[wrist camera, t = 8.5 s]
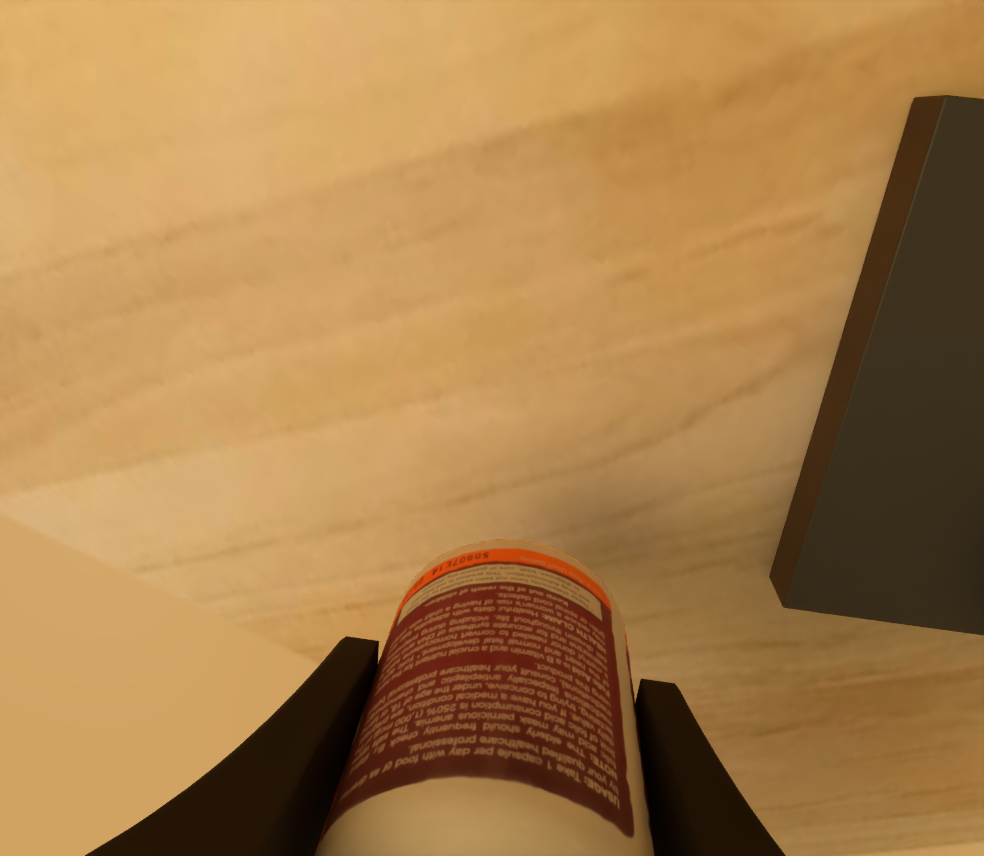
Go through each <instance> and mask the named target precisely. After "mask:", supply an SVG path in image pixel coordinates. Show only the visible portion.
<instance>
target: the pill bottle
mask: <svg viewBox="0 0 984 856" xmlns="http://www.w3.org/2000/svg"><path fill="white" fill-rule="evenodd" d="M314 856H655V852H654V848H653V842H652V834H651V826H650V811H649V805H648V799H647V789H646V785H645V773H644V767H643V761H642V754H641V744H640V736H639V727H638V719H637V714H636V708H635V699H634V692H633V684H632V678H631V669H630V659H629V651H628V646H627V637H626V631H625V626H624V622H623V619H622V616H621V612H620V610H619V608H618V606H617V604H616V602H615V600H614V598H613V596H612V594H611V592H610V591H609V590H608V588H607V587H606V585H605V584H604V582H603V581H602V580H601V579H600V578H599V577H598V576H597V575H596V574H595V573H594V572H592V571H591V570H590V569H589V568H588V567H586V566H585V565H583V564H582V563H580V562H579V561H577V560H576V559H575V558H573V557H571V556H569V555H567V554H565V553H563V552H561V551H559V550H556V549H553V548H551V547H548V546H545V545H541V544H538V543H534V542H530V541H524V540H507V539H497V540H491V541H482V542H479V543H474V544H469V545H465V546H462V547H459V548H456V549H454V550H452V551H449V552H447V553H445V554H442V555H440V556H439V557H438V558H436V559H435V560H433V561H432V562H431V563H429V564H428V565H427V566H426V567H425V568H424V569H422V570H421V571H420V572H419V573H418V574H417V575H416V576H415V578H414V579H413V580H412V582H411V583H410V584H409V586H408V588H407V589H406V591H405V593H404V595H403V597H402V600H401V602H400V604H399V607H398V610H397V612H396V616H395V619H394V621H393V624H392V627H391V630H390V632H389V636H388V639H387V641H386V645H385V647H384V650H383V652H382V656H381V658H380V660H379V662H378V666H377V671H376V674H375V677H374V680H373V683H372V686H371V689H370V692H369V695H368V697H367V700H366V702H365V706H364V709H363V712H362V715H361V718H360V720H359V724H358V727H357V730H356V733H355V736H354V739H353V742H352V745H351V749H350V753H349V756H348V759H347V761H346V764H345V767H344V769H343V770H342V772H341V776H340V780H339V783H338V787H337V789H336V792H335V794H334V798H333V802H332V805H331V809H330V812H329V815H328V817H327V820H326V822H325V824H324V827H323V830H322V833H321V836H320V839H319V842H318V846H317V849H316V852H315V855H314Z"/></svg>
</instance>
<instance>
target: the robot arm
mask: <svg viewBox="0 0 984 856" xmlns="http://www.w3.org/2000/svg"><path fill="white" fill-rule="evenodd" d="M378 646H379V641H375V640H368V639H361V638H354V637H347V636H346V637H345V638H343V639H342V640H340V642H339V643H338V644H337V645H336V646H335V648H334V649H333V650H332V651H331V653H330V654H329V655H328V656H327V657H326V658H325V660H324V661H323V662H322V663H321V664H320V665H319V667H318V668H317V669H316V670H315V671H314V672H313V673H312V674H311V675H310V677H309V678H308V679H307V680H306V681H305V682H304V683H303V684H302V685H301V686H300V687H299V689H298V690H297V691H296V692H295V693H294V694H293V695H292V696H291V697H290V698H289V699H288V700H287V701H286V702H285V703H284V704H283V705H282V706H281V707H280V708H279V709H278V710H277V711H276V712H275V713H274V714H273V715H272V716H271V717H270V718H269V719H268V720H267V721H266V722H265V723H264V724H262V725H261V726H260V727H259V728H258V729H257V730H256V731H255V732H254V733H253V734H252V735H251V736H249V737H248V738H247V739H246V740H245V741H244V742H243V743H242V744H241V745H240V746H239V747H237V748H236V749H235V750H234V751H233V752H232V753H230V754H229V755H228V756H227V757H226V758H225V759H223V760H222V761H221V762H220V763H219V764H218V765H216V766H215V767H214V768H213V769H211V770H210V771H209V772H208V773H206V774H205V775H204V776H202V777H201V778H200V779H199V780H197V781H196V782H195V783H193V784H192V785H191V786H190V787H188V788H187V789H186V790H184V791H183V792H181V793H180V794H179V795H177V796H176V797H174V798H173V799H172V800H170V801H169V802H167V803H166V804H165V805H163V806H162V807H160V808H159V809H158V810H156V811H155V812H153V813H152V814H151V815H149V816H148V817H146V818H145V819H143V820H142V821H140V822H139V823H137V824H136V825H134V826H133V827H131V828H130V829H128V830H126V831H125V832H123V833H121V834H120V835H118V836H116V837H115V838H113V839H111V840H110V841H108V842H107V843H105V844H103V845H101V846H100V847H98V848H97V849H95V850H93V851H92V852H90V853H88V854H87V855H85V856H314V855H315V852H316V849H317V846H318V842H319V839H320V836H321V833H322V830H323V827H324V824H325V822H326V820H327V817H328V815H329V812H330V809H331V805H332V802H333V798H334V794H335V792H336V789H337V787H338V783H339V780H340V776H341V772H342V770H343V769H344V767H345V764H346V761H347V759H348V756H349V753H350V749H351V745H352V742H353V739H354V736H355V733H356V730H357V727H358V724H359V720H360V718H361V715H362V712H363V709H364V706H365V702H366V700H367V697H368V695H369V692H370V689H371V686H372V683H373V680H374V677H375V674H376V671H377V666H378ZM635 708H636V714H637V719H638V727H639V736H640V744H641V754H642V761H643V767H644V773H645V785H646V789H647V799H648V805H649V811H650V826H651V834H652V842H653V848H654V852H655V856H786V855H785V854H784V853H783V852H782V850H781V849H780V848H779V846H778V845H777V844H776V842H775V841H774V840H773V838H772V837H771V836H770V834H769V833H768V832H767V830H766V829H765V827H764V826H763V825H762V823H761V822H760V820H759V819H758V818H757V816H756V815H755V813H754V812H753V811H752V809H751V808H750V806H749V805H748V803H747V802H746V800H745V799H744V797H743V796H742V794H741V793H740V791H739V790H738V788H737V787H736V785H735V784H734V782H733V780H732V779H731V777H730V776H729V774H728V773H727V771H726V770H725V768H724V766H723V765H722V763H721V762H720V760H719V758H718V757H717V755H716V754H715V752H714V750H713V749H712V747H711V745H710V744H709V742H708V740H707V738H706V737H705V735H704V733H703V732H702V730H701V728H700V726H699V725H698V723H697V721H696V719H695V717H694V716H693V714H692V712H691V710H690V708H689V707H688V705H687V703H686V701H685V699H684V697H683V695H682V694H681V692H680V690H679V688H678V687H677V686H676V685H675V683H668V682H661V681H654V680H647V679H641V681H640V685H639V689H638V693H637V698H636V702H635Z"/></svg>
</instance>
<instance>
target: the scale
mask: <svg viewBox="0 0 984 856" xmlns="http://www.w3.org/2000/svg"><path fill="white" fill-rule="evenodd" d="M769 577H770V579H771V582H772V584H773V586H774V588H775V591H776V593H777V595H778V597H779V599H780V602H781V604H782V606H783V607H784V608H790V609H797V610H804V611H811V612H819V613H826V614H833V615H840V616H848V617H855V618H862V619H869V620H877V621H884V622H891V623H898V624H906V625H913V626H920V627H927V628H934V629H942V630H949V631H956V632H963V633H971V634H978V635H984V99H977V98H968V97H959V96H950V95H943V96H928V97H916V98H914V100H913V103H912V106H911V109H910V113H909V116H908V119H907V123H906V126H905V129H904V133H903V136H902V139H901V143H900V146H899V149H898V152H897V156H896V159H895V162H894V166H893V169H892V172H891V176H890V179H889V182H888V186H887V189H886V192H885V195H884V199H883V202H882V205H881V209H880V212H879V215H878V219H877V222H876V225H875V229H874V232H873V235H872V239H871V242H870V245H869V248H868V252H867V255H866V258H865V262H864V265H863V268H862V272H861V275H860V278H859V282H858V285H857V288H856V292H855V295H854V298H853V301H852V305H851V308H850V311H849V315H848V318H847V321H846V325H845V328H844V331H843V335H842V338H841V341H840V344H839V348H838V351H837V354H836V358H835V361H834V364H833V368H832V371H831V374H830V378H829V381H828V384H827V388H826V391H825V394H824V397H823V401H822V404H821V407H820V411H819V414H818V417H817V421H816V424H815V427H814V431H813V434H812V437H811V441H810V444H809V447H808V450H807V454H806V457H805V460H804V464H803V467H802V470H801V474H800V477H799V480H798V484H797V487H796V490H795V493H794V497H793V500H792V503H791V507H790V510H789V513H788V517H787V520H786V523H785V527H784V530H783V533H782V537H781V540H780V543H779V546H778V550H777V553H776V556H775V560H774V563H773V566H772V570H771V573H770V576H769Z"/></svg>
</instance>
